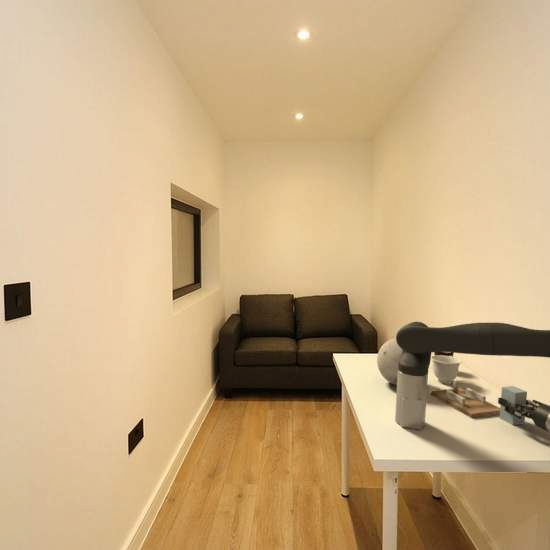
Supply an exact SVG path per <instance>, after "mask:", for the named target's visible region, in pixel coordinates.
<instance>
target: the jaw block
mask: <svg viewBox="0 0 550 550" xmlns="http://www.w3.org/2000/svg"><path fill="white" fill-rule="evenodd" d="M500 398H503V399H505V400H507V401H510V402H512V403H521V404H525V405H526V400H528V399H527V398H528V391H527V390H524V389H522V388H520V387H517V386H515V385H510V386H502V387H501V396H500ZM512 406H513V405H512ZM514 407H515V406H514ZM499 408H500V415H499V419H500V420H502V421H504V422H506V423H508V424H509V425H510V426H511V425H512V426H517V425H523V424H524V425H525V422H526V417H525V416H522V418H521V419H519V418H517V417H515V416H513V415H511V414H510V413H508V412H506V411H504V409H505V407H504V406H502V405H500V407H499ZM519 409H520V410H521V406H519Z"/></svg>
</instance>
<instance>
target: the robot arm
mask: <svg viewBox="0 0 550 550" xmlns="http://www.w3.org/2000/svg"><path fill="white" fill-rule="evenodd" d="M395 338H396V341H397V344H398V345H399V347H400V348H401V349H402V355H401V358H400V360H399V362H398V378H397V385H396V394H395V395H396V398H395V400H396V401H395V415H394V416H395V418H394V420H395V422H396V423H397V424H398V425H400V426H401V428H408V429H414V430H421V431H422V430H423V428H424V427H425V425H426V411H427V410H426V409H427V398H428V395H427V394H428V384H429V383H428V381H429V380H428V378H429V369H430V365H431V360H432V359H431V357H432V353H434V352H452V353H454V354H464V355H465V354H466V355H478V356H498V357H499V356H501V357H502V356H508V357H509V356H510V357H511V356H512V357H535V358H537V357H538V358H540V357H541V358H550V329H546V330H545V329H533V328H528V327H523V326H519V325H515V324H510V323H504V322H473V323H472V322H471V323H464V324H457V325H452V326H445V327H430V326H429V325H427V324H425V323H424V322H421V321H412V322H409V323H407V324H405V325H403V326H402V327H401V328H400V329H399V330H398V331H397V333H396V335H395ZM497 403H498V405H500V406H501V405H502V406H504V407H505V409H504V411H506V412H508V413H510V414H511V415H513V416H515V417H517V418H519V419H521V418H522V416H525V419H529V420H530V419H531V420H532V421H533V423H534V425H535V426H536V427H537V428H539V429H541V430H543V431H545V432H548V433H549V434H550V405H549V404H547V403H544V402H542V401H538V400H535V399H532V400H530V399H526V405H525V404H521V403H512V402H510V401H507V400H505V399H503V398H501V397H498V398H497ZM512 405H513V406H512ZM514 406H515V407H514ZM519 406H521V410H520V409H519Z"/></svg>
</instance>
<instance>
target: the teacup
mask: <svg viewBox="0 0 550 550" xmlns="http://www.w3.org/2000/svg"><path fill="white" fill-rule="evenodd" d="M431 360H432V367H433V368H432V369H433V374H434V376H435V377H436V378H437V382H439V383H442V384H444V385H445V384H447V385H450V384H453V382H452V381H455V379H457V377H458V373H459V368H460V365H461V363H462V361H461V360H460V359H459V358H457V357H454V356H453V357H452V356H444V355H431Z"/></svg>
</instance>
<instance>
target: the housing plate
mask: <svg viewBox="0 0 550 550" xmlns="http://www.w3.org/2000/svg"><path fill="white" fill-rule="evenodd" d="M452 384H453V386H452V388H449V389H448V388H446V389H436V390H435V389H434V390H430V395H431V394H432V395H431V396H432V397H434V396H435V397H434V398H436V397H437V398H436V399H438V400H439V401H441V400H442V401H441V402H442V403H445V404H446V405H448V406H450V407H452V408H453V409H455V410H457V411H459V412H460V413H462V414H463V415H466V416H467V417H468V418H470V419H475V418H481V417H482V418H483V417H490V416H500V407H499V406H497V405H495V404H493V403H491V402H489V401H487V399H486V398H487V396H485V395H484V394H481V393H480V392H478V391H476V390H474V389H471V388H468V387H467V388H466V389H463V388H461V387H460V388H459V385H460V384H459V381H457V380H453V382H452Z"/></svg>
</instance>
